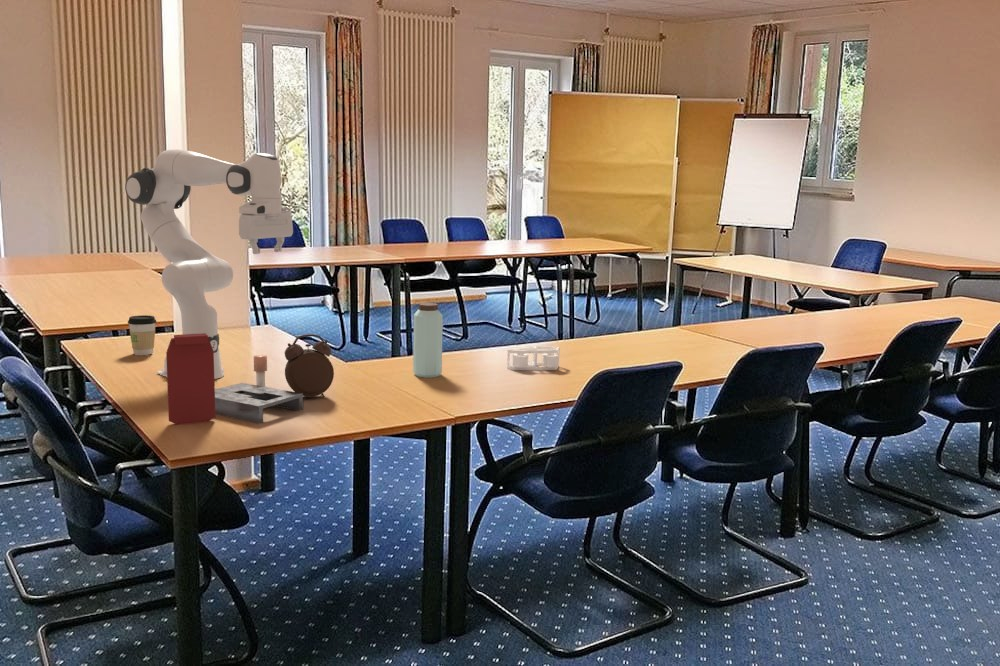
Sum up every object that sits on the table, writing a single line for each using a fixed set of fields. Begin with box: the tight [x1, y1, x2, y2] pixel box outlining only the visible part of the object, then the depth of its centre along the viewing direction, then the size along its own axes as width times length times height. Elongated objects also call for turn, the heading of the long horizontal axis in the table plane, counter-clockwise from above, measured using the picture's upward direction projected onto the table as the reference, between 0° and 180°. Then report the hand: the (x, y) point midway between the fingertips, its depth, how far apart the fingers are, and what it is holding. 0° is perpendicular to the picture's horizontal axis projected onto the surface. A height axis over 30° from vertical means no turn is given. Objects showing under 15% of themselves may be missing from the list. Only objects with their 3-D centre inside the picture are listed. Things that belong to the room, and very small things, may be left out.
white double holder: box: [506, 345, 560, 371], centre depth 337 cm, size 20×11×7 cm, turn 99°
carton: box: [165, 333, 216, 425], centre depth 251 cm, size 12×5×25 cm, turn 117°
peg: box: [253, 354, 268, 387], centre depth 286 cm, size 5×5×12 cm
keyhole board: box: [215, 382, 304, 425], centre depth 269 cm, size 18×24×5 cm
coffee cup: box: [127, 314, 157, 356], centre depth 337 cm, size 10×10×15 cm
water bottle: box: [412, 302, 444, 379], centre depth 319 cm, size 10×10×25 cm
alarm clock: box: [284, 333, 335, 398], centre depth 284 cm, size 15×7×20 cm, turn 115°
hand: (267, 252), depth 284 cm, fingers open, 8 cm apart
